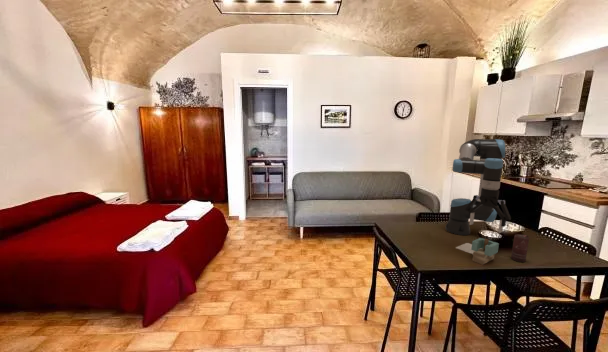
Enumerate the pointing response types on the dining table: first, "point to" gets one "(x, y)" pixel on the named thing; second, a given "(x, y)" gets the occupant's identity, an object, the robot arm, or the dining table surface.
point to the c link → (489, 249)
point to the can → (520, 247)
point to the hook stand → (482, 255)
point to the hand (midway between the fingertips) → (485, 228)
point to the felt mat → (466, 248)
